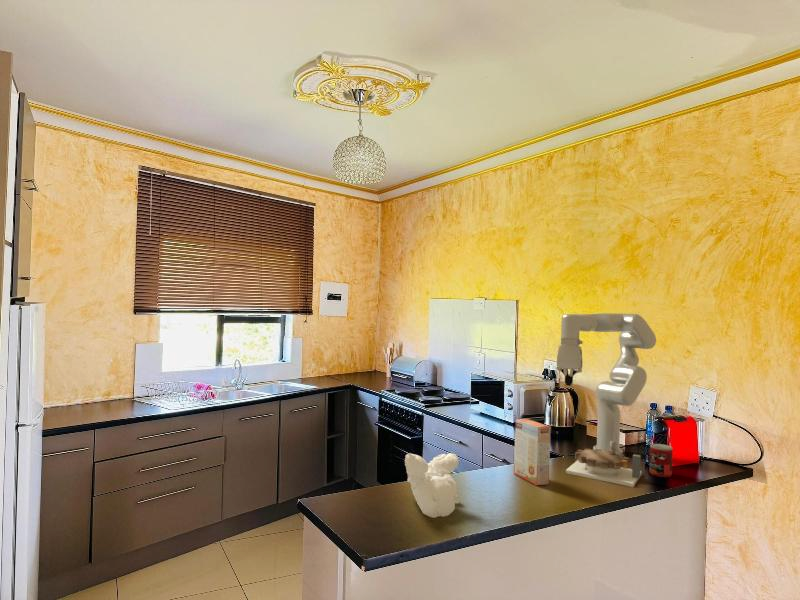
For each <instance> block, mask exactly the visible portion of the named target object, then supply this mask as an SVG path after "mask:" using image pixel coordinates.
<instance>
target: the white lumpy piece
mask: <svg viewBox="0 0 800 600" xmlns="http://www.w3.org/2000/svg"><path fill="white" fill-rule="evenodd" d="M404 457H405V458H404V466H405V469H406V474H407V482H408V483H410V488H411V491H412V494H413V497H414V499H415V502H416V503H417V505H418V507H419V509H420V510H421V512H422V514H423V515H425V516H427V517H429V518H431V519H432V518H434V519H436V518H439V517H442V518H443V517H448V516H449V515H451V514H452V513H453V512H454V511H455V509H456V504H459V503H460V501H459V500H456V499H458V497H459V495H458V489H459V488H458V485H457V483H456V481H455V480H454V479H453V477H452V476H451V475H450V474H452V472H454V470H456V469H457V467H458V465H459V463H460V461H459V458H458V455H457V454H456V453H455V454H454V452H453V453H451V452H449V453H448V454H446V453H440V454H438V455H437V456H434V457H433V458H432V460H430V461H429V462H427V461H426V460H425V459H424V458H423V457H422V456H420V455H418V454H414V453H411V452H410V453H407V454H405V456H404Z"/></svg>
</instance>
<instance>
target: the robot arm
mask: <svg viewBox="0 0 800 600" xmlns="http://www.w3.org/2000/svg"><path fill="white" fill-rule="evenodd" d="M560 326H561V328H560V329H561V330H560V331H561V332H560V345H559V346H558V350H557V354H556V371H559V372H561V373H562V374H563V375H564V383H565V386H570V387H571V386H572V385H573V383H574V376H575V375H576V374H578V373H580V374H581V373H582V372H583V350H582V346H580V345H583V343H584V341H583V340H581V339H580V332H586V333H589V332H597V333H598V332H600V333H614V332H615V333H616V332H617V333H619V332H620V334H619V335H618V336H619V337H618V343H619V346H620V348H619V349H620V355H619V356H618V359H617V360H616V362H615V364H614V366H613V367H612V368H611V370H610V372H609V380H610V381H602V382H599V383H598V384H597V386H596V388H595V395H596V399H597V401H596V402H597V429H596V430H597V431H596V444H595V445H594V446H592V450H596V449H601V450H602V451H610V441H615V442H616V447H615V453H616V454H622V455H623V453H624V451H623V449H622V448H620V437H621V436H620V435H621V433H620V432H621V411H620V408H619V406H622V407H629V406H632V405H633V404H634V403H636V401H637V399H638V397H639V395H640V394H641V392H642V390H643V388H644V387H645V385H646V384H647V383H646V382H647V380H648V379H647V377H648V376H647V375H648V374H647V372H646V370H645V369H644V368H643V367H641V366H639V363H640V357H639V355H638V354H637V351H636V349H641V350H642V349H643V350H651V349H653V348H654V347H655V345H657V337H656V334H655V332H654V331H653V329H652V328H651V327H650V325H649V324H648V322H647V321H646V320H645V319H644V317H642V315H640V314H637V313H616V312H615V313H613V312H612V313H611V312H609V313H608V312H606V313H605V312H603V313H599V312H598V313H586V314H585V313H581V314H580V313H579V314H578V313H571V314H570V313H567V314H563V315H562V316H561V325H560ZM618 405H619V406H618Z"/></svg>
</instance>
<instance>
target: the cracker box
mask: <svg viewBox="0 0 800 600" xmlns="http://www.w3.org/2000/svg"><path fill="white" fill-rule="evenodd" d="M514 430H515V434H514V454H513V455H514V457H513V475H515V476H517V477H519V478H521V479H523V480H525V481H527V482H529V483H530V484H532V485H534V486H547V485H550V465H551V464H550V460H551V459H550V457H551V456H550V455H551V434H552V432H551V430H552V427H551V426H550V425H547V424H543V423H541V422H538V421H535V420H532V419H529V418H522V419H521V418H518V419H515V429H514Z"/></svg>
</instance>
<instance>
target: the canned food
mask: <svg viewBox="0 0 800 600" xmlns="http://www.w3.org/2000/svg"><path fill="white" fill-rule="evenodd" d="M649 446H650V447H649V469H648V471H649V473H650V474H651V475H653V476H656V477H660V478H661V477H662V478H671V477H672V474H673V454H674V453H673V451H674V450H673V447H672V446H671V445H667V444H662V443H651V444H650V445H649Z"/></svg>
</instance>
